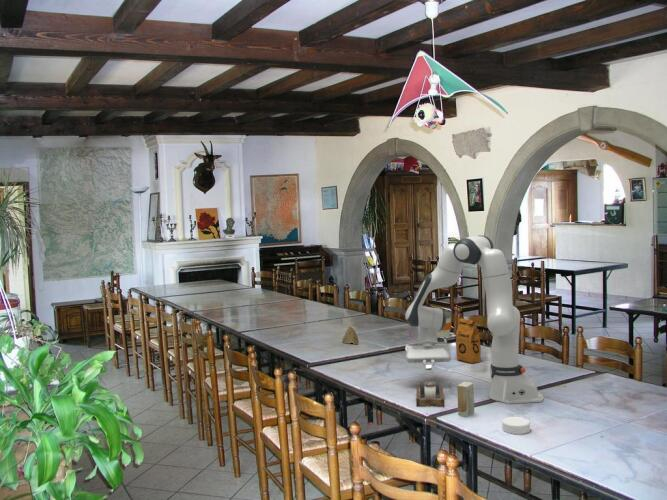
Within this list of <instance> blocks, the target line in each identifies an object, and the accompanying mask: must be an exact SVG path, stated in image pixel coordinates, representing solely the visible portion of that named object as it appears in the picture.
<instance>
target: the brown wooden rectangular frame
mask: <svg viewBox="0 0 667 500" xmlns="http://www.w3.org/2000/svg"><path fill="white" fill-rule="evenodd" d="M415 396H416V397H415V399H416V400H415V402H416V403H415V404H416V407H426V406H429V407H430V406H434V407H436V406H438V407H443V408H444V407H445V395H444V387H443V386H440V398H436V399H425V398H420V386H416V394H415Z"/></svg>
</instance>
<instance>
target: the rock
mask: <svg viewBox="0 0 667 500" xmlns="http://www.w3.org/2000/svg"><path fill="white" fill-rule="evenodd" d="M342 342H344V343H343V344H345V343H353V344H352V345H359V344H358V343H359V337H358V334H357V333H356V331H355V330H354V328H353V327H351V326H348V328H347V329H346V331H345V333H344V336H343V337H342V340H341V343H342Z"/></svg>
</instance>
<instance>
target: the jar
mask: <svg viewBox="0 0 667 500" xmlns="http://www.w3.org/2000/svg"><path fill="white" fill-rule="evenodd" d="M426 381H427V380H426ZM435 382H436V381H431V380H430V381H427V382H424V388H425V398H424V399H437V398H436V387H435V386H436V383H435Z"/></svg>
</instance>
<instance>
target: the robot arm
mask: <svg viewBox="0 0 667 500" xmlns="http://www.w3.org/2000/svg"><path fill="white" fill-rule="evenodd" d="M465 264H470V265H477V264H478V265H479V267H480V270H481V273H482V278H483V285H484V291H485V296H486V297H485V298H486V317H487V320H486V321H487V322H486V325H487V328H488V331H489V332H490V333H491V334H492V341H491V345H490V346H491V349H490V350H491V363H490V370H489V371H490V377H491V378H490V379H491V381H490V388H489V391H488V392H489V393H488V395H487V396H488V398H489V399H491V400H492V401H496V402H502V403H504V404H506V405H507V404H508V405H509V404H511V405H512V404H526V403H527V404H529V403H541V402H543V401H544V395H543V394H542V392H540V391H538V386H537V384H536V382H535V381H534V379H531V378H530V377H529V376H527V374H525V372H526V371H527V370H526V367H524V366H523V365H522V364H519V342H520V331H521V329H520V327H521V313H520V310H519V309H518V308H517V307H516V306H514V303H513V286H512V281H511V280H512V279H511V275H510V269H509V265H508V262H507V259H506V256H505V254H504V252H503V251H502V250H500V249H497V248H494V243H493V241H492V239H491V238H490V237H488V236H486V235H483V234H482V235H472V236H467V237H463V238H461V239H459V240H457V242H455V243H448V244H447V245H445V247H444V248H443V250H442V252H441V255H440V256H439V259H438V262H437V265H436V266H435V268H434V270H433V271H432V272H431V273H428V274H426V275H425V277H424V279H423V280H422V282H421V284H420V285H419V288H418V289H417V291H416V292H415V293H416V294H415V296H414V298H413V299H412V301H411V303H410V304H409V306H408V308H407V309H406V312H405V315H404V316H405V317H404V319H405V321H406V323H408V325H409V326H410V327H417V333H418V337H417V343H408V344H406V345H405V348H404V349H405V350H404V351H405V352H406V353H405V361H406V362H407V363H408V364H409V363H410V364H413V363H422V365H423V366H424V367H425V371H433V367H434V366H435V363H450V361H452V354H451V349H450V346H449V345H448V341H447V338H440V337H437V335H436V333H437V332H439V331H440V330H442V329H443V328H444V327H445V325H446V315H445V313H444V311H445V310H443V309H440V308H437V307H430V306H426V305H425V306H424V305H423V304H424V303H425V301H426V299H427V296H428V295H429V293H430V292H433V291H434V290H437V289H438V290H439V289H441V288H442V289H443V288H449V287H451V286H454V285H455V284H456V283H457V282H458V281H459V280H460V276H461V274H462V271H463V268H464V265H465ZM427 363H431V364H427Z"/></svg>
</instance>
